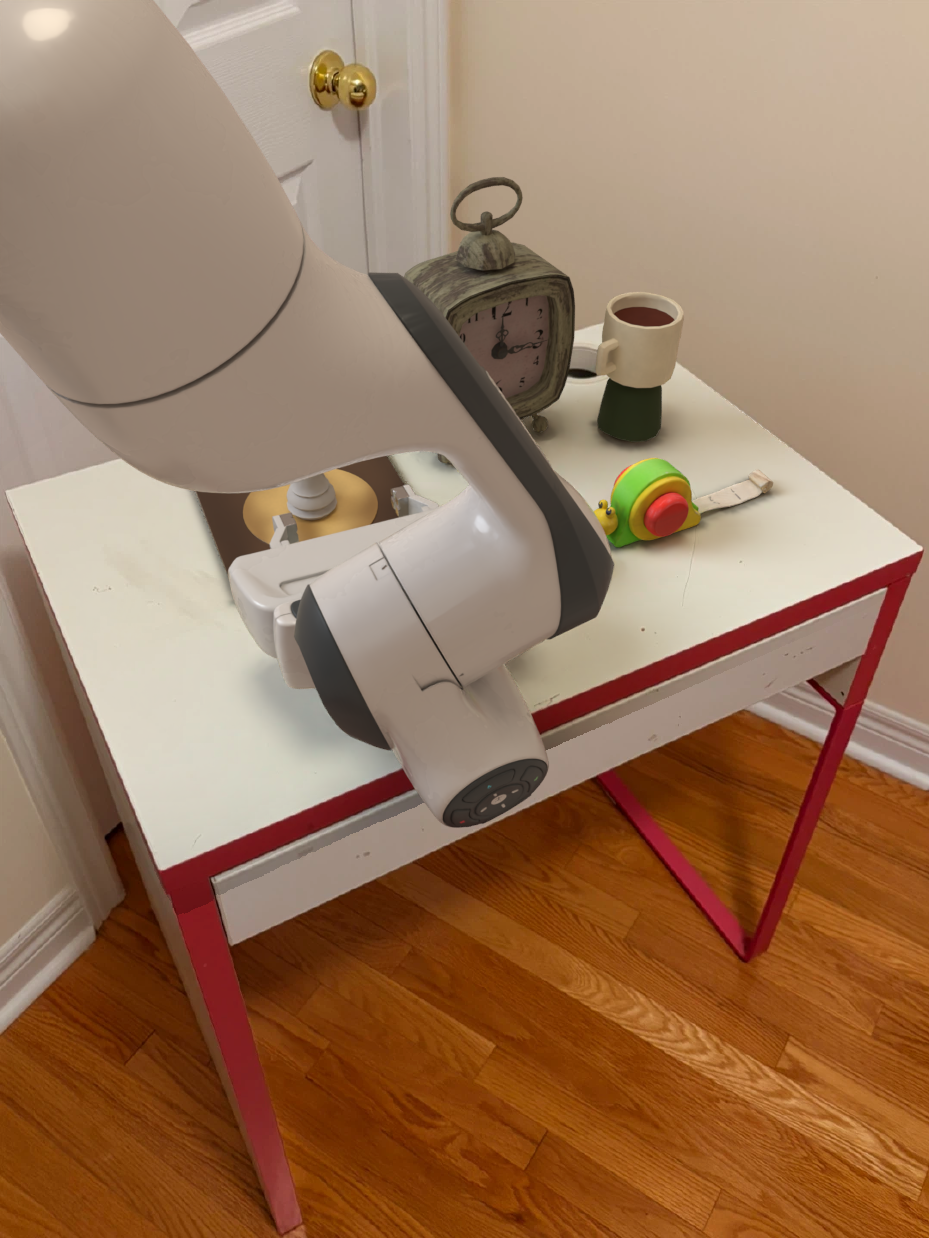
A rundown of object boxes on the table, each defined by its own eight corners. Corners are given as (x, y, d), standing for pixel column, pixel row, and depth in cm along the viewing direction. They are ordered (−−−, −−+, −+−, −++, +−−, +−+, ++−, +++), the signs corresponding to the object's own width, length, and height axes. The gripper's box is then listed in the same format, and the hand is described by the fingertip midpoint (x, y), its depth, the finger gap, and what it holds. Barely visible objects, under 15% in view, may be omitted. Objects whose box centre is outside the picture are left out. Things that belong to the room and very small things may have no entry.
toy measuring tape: (569, 526, 93) (575, 466, 89) (743, 468, 100) (757, 409, 95) (608, 568, 89) (617, 507, 85) (787, 505, 96) (804, 445, 91)
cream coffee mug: (641, 396, 109) (658, 278, 100) (691, 427, 105) (714, 307, 96) (563, 432, 104) (574, 311, 95) (613, 466, 100) (629, 343, 91)
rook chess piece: (327, 487, 96) (319, 412, 90) (344, 514, 93) (338, 439, 87) (280, 499, 94) (270, 424, 89) (297, 528, 92) (287, 452, 86)
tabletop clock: (437, 478, 98) (435, 215, 81) (392, 430, 104) (381, 175, 86) (565, 435, 104) (589, 180, 86) (516, 392, 109) (529, 144, 92)
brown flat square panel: (237, 602, 86) (236, 595, 85) (190, 479, 98) (189, 473, 97) (441, 548, 91) (441, 542, 90) (373, 438, 103) (372, 432, 102)
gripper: (544, 551, 72) (466, 444, 81) (254, 629, 66) (205, 504, 76) (538, 617, 77) (465, 508, 86) (265, 695, 71) (218, 569, 80)
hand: (341, 506), depth 81 cm, fingers open, 8 cm apart
